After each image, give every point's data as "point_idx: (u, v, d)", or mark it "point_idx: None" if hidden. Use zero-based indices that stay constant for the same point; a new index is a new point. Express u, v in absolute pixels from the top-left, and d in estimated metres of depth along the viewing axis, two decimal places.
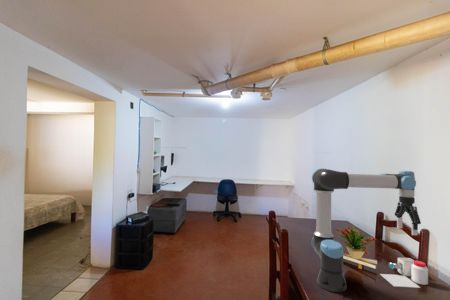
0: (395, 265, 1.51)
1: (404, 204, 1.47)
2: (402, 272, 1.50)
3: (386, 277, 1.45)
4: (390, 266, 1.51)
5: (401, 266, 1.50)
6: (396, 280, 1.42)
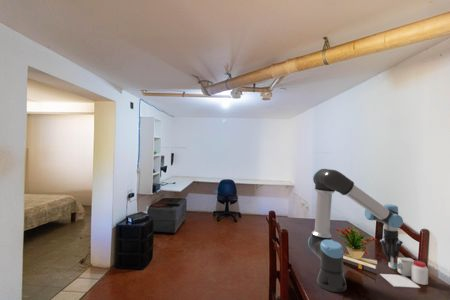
0: (397, 265, 1.51)
1: None
2: (402, 272, 1.50)
3: (386, 277, 1.45)
4: None
5: None
6: (396, 280, 1.42)
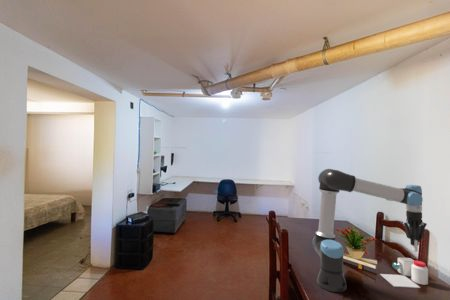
0: (399, 265, 1.51)
1: None
2: (402, 272, 1.50)
3: (386, 277, 1.45)
4: (394, 266, 1.51)
5: None
6: (396, 280, 1.42)
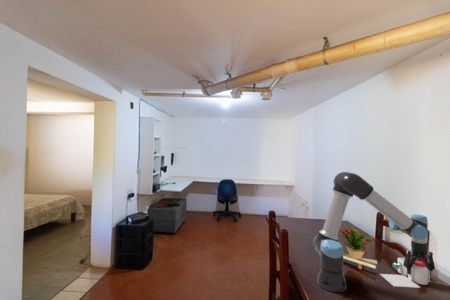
0: (399, 265, 1.51)
1: None
2: (402, 272, 1.50)
3: (386, 277, 1.45)
4: (394, 266, 1.51)
5: None
6: (396, 280, 1.42)
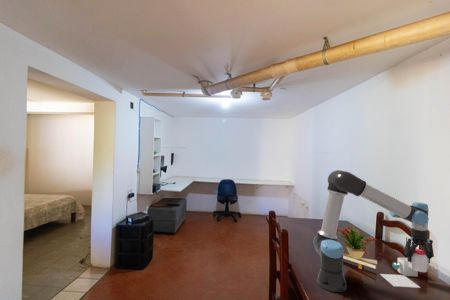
0: (399, 265, 1.51)
1: None
2: (402, 272, 1.50)
3: (386, 277, 1.45)
4: (394, 266, 1.51)
5: None
6: (396, 280, 1.42)
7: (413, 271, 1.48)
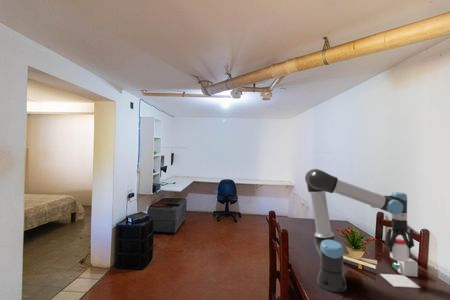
0: (399, 265, 1.51)
1: None
2: (402, 272, 1.50)
3: (386, 277, 1.45)
4: (394, 266, 1.51)
5: None
6: (396, 280, 1.42)
7: (413, 271, 1.48)
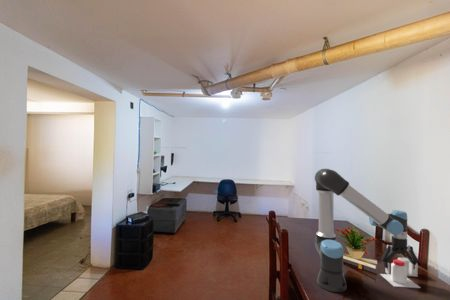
0: None
1: None
2: None
3: (386, 277, 1.45)
4: None
5: None
6: None
7: (413, 271, 1.48)
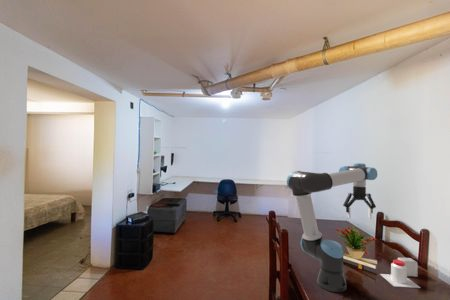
0: None
1: None
2: None
3: (386, 277, 1.45)
4: None
5: None
6: None
7: (413, 271, 1.48)
